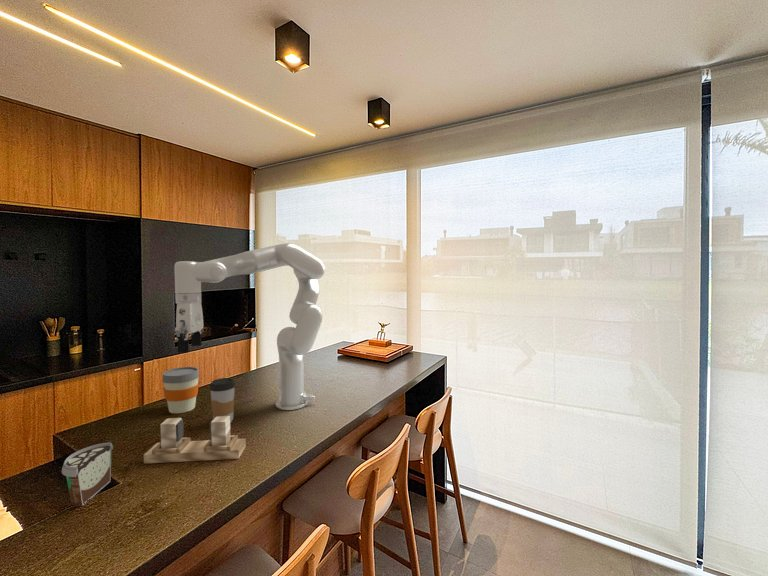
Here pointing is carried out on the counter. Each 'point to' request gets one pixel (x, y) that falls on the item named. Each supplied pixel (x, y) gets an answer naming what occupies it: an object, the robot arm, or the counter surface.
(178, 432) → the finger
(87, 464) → the food container
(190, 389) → the reusable coffee cup
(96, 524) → the counter surface
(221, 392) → the coffee cup
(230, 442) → the rail
